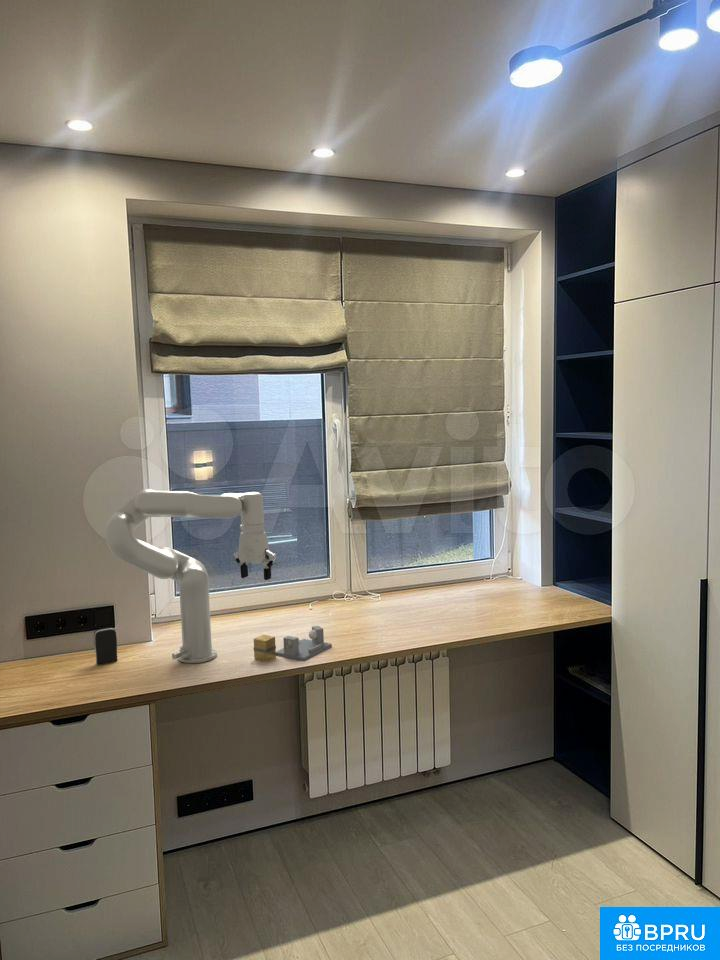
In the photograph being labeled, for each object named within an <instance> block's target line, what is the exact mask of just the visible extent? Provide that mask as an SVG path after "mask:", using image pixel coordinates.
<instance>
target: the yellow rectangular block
mask: <svg viewBox="0 0 720 960" xmlns="http://www.w3.org/2000/svg"><path fill="white" fill-rule="evenodd" d="M253 652H254V653H253V654H254V660H256V661H260V662H264V663H265V662H266V663H267V662H269V661H271V660H274V659H276V658H277V655H276V652H277V645H276V636H271V635H266V634H262V635H260V636H257V637H255V638H253Z"/></svg>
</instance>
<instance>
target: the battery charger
mask: <svg viewBox="0 0 720 960" xmlns="http://www.w3.org/2000/svg"><path fill="white" fill-rule="evenodd" d="M117 638H118V636H117V631H116V630H115V629H114V628H112V627H105V628H100V629H99V628H98V629H96V630H95V631H94V632H93V645H94V652H95V664H96V665H97V666H101V664H102V665H107V664H111V662H112V663H115V662H117V661H118V639H117ZM106 663H107V664H106Z"/></svg>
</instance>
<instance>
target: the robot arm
mask: <svg viewBox="0 0 720 960" xmlns="http://www.w3.org/2000/svg"><path fill="white" fill-rule="evenodd" d="M238 516H240V517H241V518H240V519H241V524H240V525H239V528H240V529H241V532H240V534H239V540H238V550H236V551H235V552H233V557H234V558H235V562H237V564H238V567H240V568H239V569H240V578H241V579H244V578H247V577H249V567H248V566H249V565H248V564H249V563H251V564H261V565H262V566H263V567H264V568H263V579H264V581H268V580H271V579H272V567H273V566H274V564H275V563H276V559H277V557H278V556H277V554H276V553H274V552H273V551H271V550H270V546H269V539H268V536H267V532H265V517H264V516H265V515H264V499H263V494H262V493H261V492H258V491H250V492H243V493H235V492H226V493H222V494H221V495H206V494H200V493H199V494H198V493H195V492H191V491H186V490H185V491H184V490H183V491H181V490H180V491H177V490H176V491H173V490H155V489H152V488H144V489H142V490H140V491H139V492H137V493H136V494H135V495H134V496H133V497H132V498H131V499H130V500H129V501H127V502H126V503H125V504H123V505H122V506H121V507H120V508H119V509H118V510H116V511H115V512H114V513H113V514H112V515H111V516H110V517H109V519H108V520H107V523H106V526H105V540H106V545H107V547H108V548H109V550H110V552H111V553H112V555H113V556H114V557H115V558H117V559H118V560H120V561H121V562H124V563H125V564H127V565H130V566H132V567H134V568H136V569H138V570H141V571H142V572H145V573H147V574H149V575H151V576H153V577H155V578H157V579H160V580H161V579H162V580H168V579H171V580H173V581H176V582H178V588H179V589H178V590H179V604H180V605H179V608H180V625H181V641H182V642H181V643H182V644H181V645H182V646H180V647H179V648H180V649H179V651H177V652H174V653H172V655H171V658H172V660H176V659H178V661H179V662H181V663H186V664H198V663H199V664H200V663H205V662H209V661H211V660H212V661H213V659H215V658H216V657H217V654H218V653H217V650H216V649H214V648H213V647H212V629H211V628H212V627H211V606H210V577H209V574H208V571H207V569H206V567H205V564H203V563H202V562H201V561H199V560H198V559H196V558H194V557H191V556H189V555H187V554H185V553H183V552H180V551H178V550H176V549H175V548H174V549H173V548H171V547H168V546H159V547H156V546H154V545H152V544H150V543H148V542H145V541H143V540H141V539H138V538H137V537H136V536H135V535H134V531H135V530H136V529H137V528H138V527H139V526H141V524H143V523H144V522H145V521H146V520H147V519H148V518H189V519H191V518H192V519H193V518H195V519H198V518H199V519H215V520H216V519H219V520H220V519H229V520H230V519H233V518H237V517H238ZM247 563H248V564H247Z"/></svg>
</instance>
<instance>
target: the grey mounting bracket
mask: <svg viewBox="0 0 720 960" xmlns="http://www.w3.org/2000/svg"><path fill="white" fill-rule="evenodd" d="M308 637H309V639H306V638H302V639H301V640H300V638H299V637H297V636H291V635H287V636H285V637H283V647H282V648H281V649H279V650H276V657H277V656H278V657H283V658H288V659H293V660H298V661H302V660H303V661H306V660H308V659H310V658H312V657H314V656H316V655H318V654H320V653H322V652H323V651H326V650H328V649H330V648H332V647H333V645H332V643H329V642H325V641H324V640H325V639H324V638H325V636H324V628H323V627H321V626H319V625H314V626H311V630H310V631H309V632H308Z"/></svg>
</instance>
